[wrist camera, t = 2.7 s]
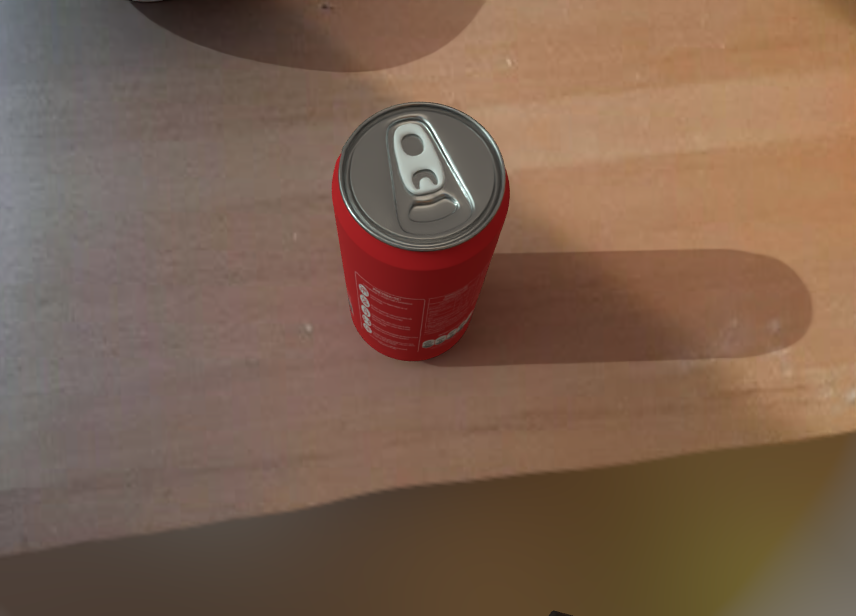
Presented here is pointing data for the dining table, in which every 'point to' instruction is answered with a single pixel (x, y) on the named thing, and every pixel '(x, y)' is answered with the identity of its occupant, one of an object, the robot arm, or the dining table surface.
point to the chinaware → (147, 0)
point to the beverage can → (417, 225)
